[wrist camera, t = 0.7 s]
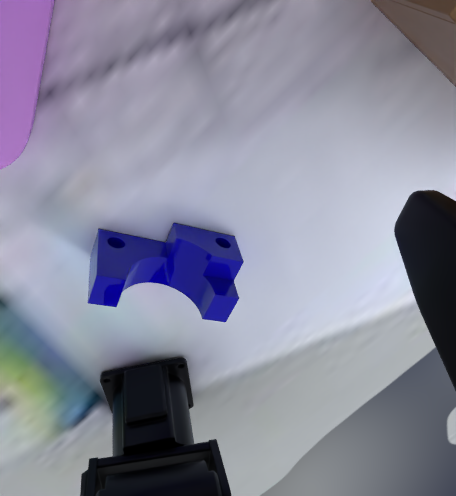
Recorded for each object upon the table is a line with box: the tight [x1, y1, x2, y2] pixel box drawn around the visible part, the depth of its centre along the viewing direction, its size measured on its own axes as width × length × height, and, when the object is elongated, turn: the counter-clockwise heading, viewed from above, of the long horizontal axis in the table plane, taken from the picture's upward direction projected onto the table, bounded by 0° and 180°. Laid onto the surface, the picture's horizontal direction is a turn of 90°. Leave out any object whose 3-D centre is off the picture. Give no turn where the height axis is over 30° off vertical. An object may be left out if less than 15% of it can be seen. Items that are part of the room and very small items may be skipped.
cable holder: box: [88, 223, 243, 322], centre depth 25 cm, size 8×4×4 cm, turn 67°
